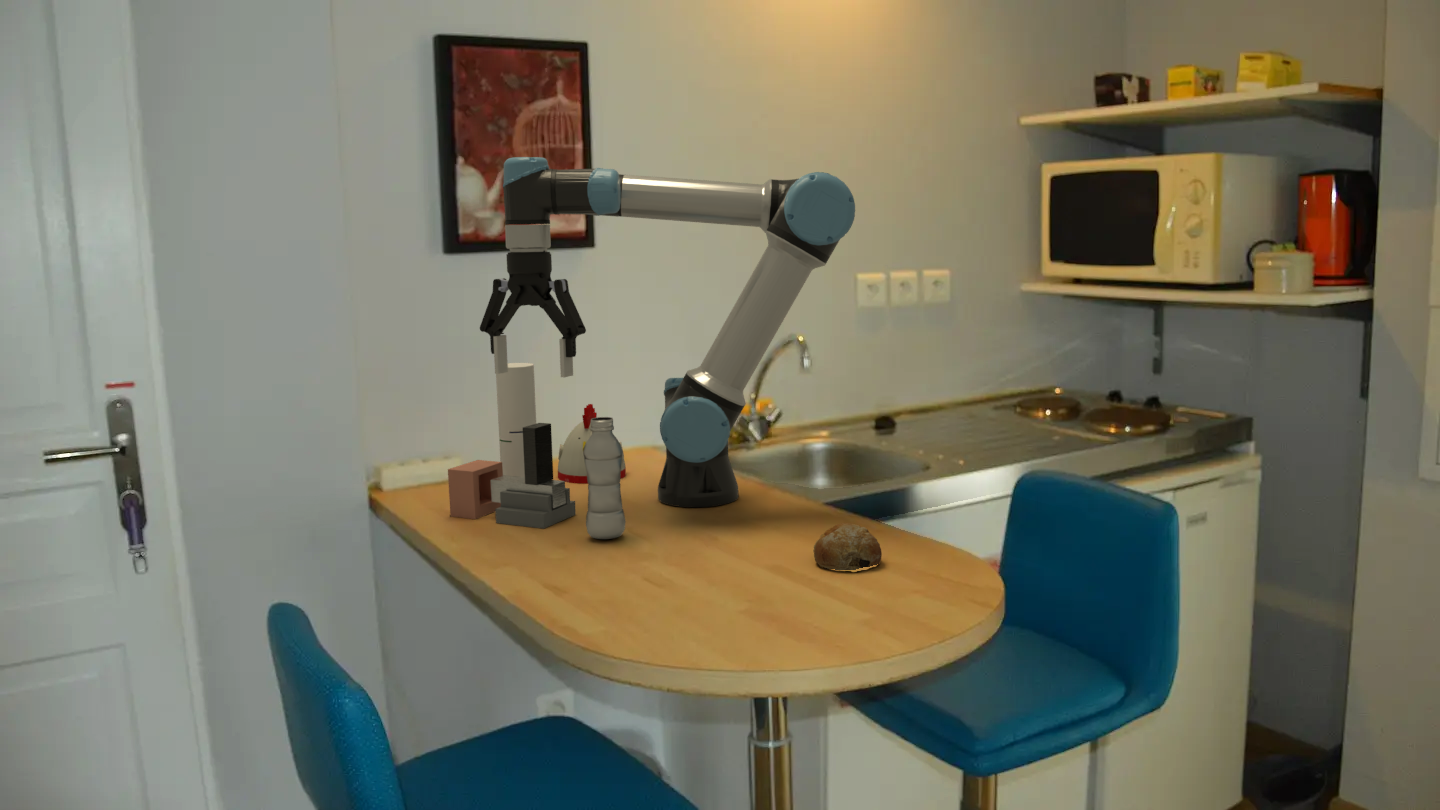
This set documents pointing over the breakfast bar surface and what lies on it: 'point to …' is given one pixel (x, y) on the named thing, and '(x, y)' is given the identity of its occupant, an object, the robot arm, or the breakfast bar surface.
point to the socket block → (473, 488)
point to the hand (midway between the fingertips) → (533, 374)
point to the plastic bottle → (603, 481)
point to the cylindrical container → (515, 414)
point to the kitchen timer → (579, 451)
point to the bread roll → (847, 548)
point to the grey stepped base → (532, 509)
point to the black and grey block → (534, 468)
